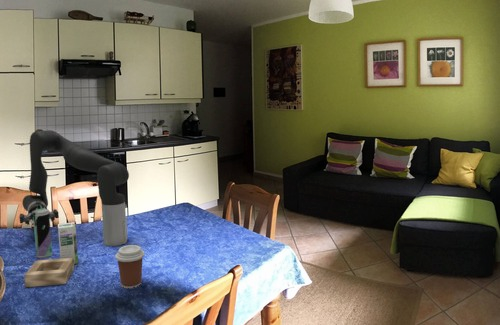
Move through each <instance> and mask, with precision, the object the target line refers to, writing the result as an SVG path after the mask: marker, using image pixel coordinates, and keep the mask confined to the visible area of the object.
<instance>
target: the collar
mask: <svg viewBox="0 0 500 325" xmlns="http://www.w3.org/2000/svg"><path fill="white" fill-rule="evenodd" d="M74 269H75V264H74V259H73V258H63V259H60V258H54V259H53V258H52V259H51V258H50V259H38V260H35V262H34V263H33V264H32V265H31V266H30V268H29V269H28V270H27V272H26V273H25V274H24V275H23V278H24V287H25V288H31V287H32V288H33V287H44V286H46V287H47V286H56V285H66V284H67V283H68V281H69V278H70V277H71V276H72V273H73V271H74Z"/></svg>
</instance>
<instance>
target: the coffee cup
mask: <svg viewBox="0 0 500 325" xmlns="http://www.w3.org/2000/svg"><path fill="white" fill-rule="evenodd" d="M114 257H115V260H116V261H117V264H118V272H119V273H118V274H119V278H120V280H119V281H120V286H121V287H122V288H123V287H124V289H128V288H129V289H134V288H133V287H135V288H138V287H140V286H141V285H142V283H141V282H142V281H143V280H142V277H143V275H142V274H143V258H144V257H145V251H144V250H143V249H142V247H141V246H140V245H136V244H128V245H124V246H122V247H119V249H118V252H117V253H115V256H114ZM140 284H141V285H140ZM139 285H140V286H139ZM137 286H138V287H137Z"/></svg>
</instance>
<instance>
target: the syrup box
mask: <svg viewBox="0 0 500 325" xmlns="http://www.w3.org/2000/svg"><path fill="white" fill-rule="evenodd" d="M57 233H58V245H59V256H60V257H59V259H63V258H73V259H74V265H76V264H77V265H78V264H79V258H78V257H79V256H78V255H79V254H78V242H77V228H76V223H75V221H72V222H66V223H58V224H57Z"/></svg>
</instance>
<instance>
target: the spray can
mask: <svg viewBox="0 0 500 325" xmlns="http://www.w3.org/2000/svg"><path fill="white" fill-rule="evenodd" d="M49 211H50V210H49V209H48V208H47V209H45V207H43V204H42V205H38V207H37V208H36V210H35V211H33V222H32V223H33V232H34V240H35V241H34V243H35V255H36V256H35V257H36V258H39V259H42V258H43V259H45V258H49V257H51V256H52V255H53V246H52V232H51V219H50V218H49Z"/></svg>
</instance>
